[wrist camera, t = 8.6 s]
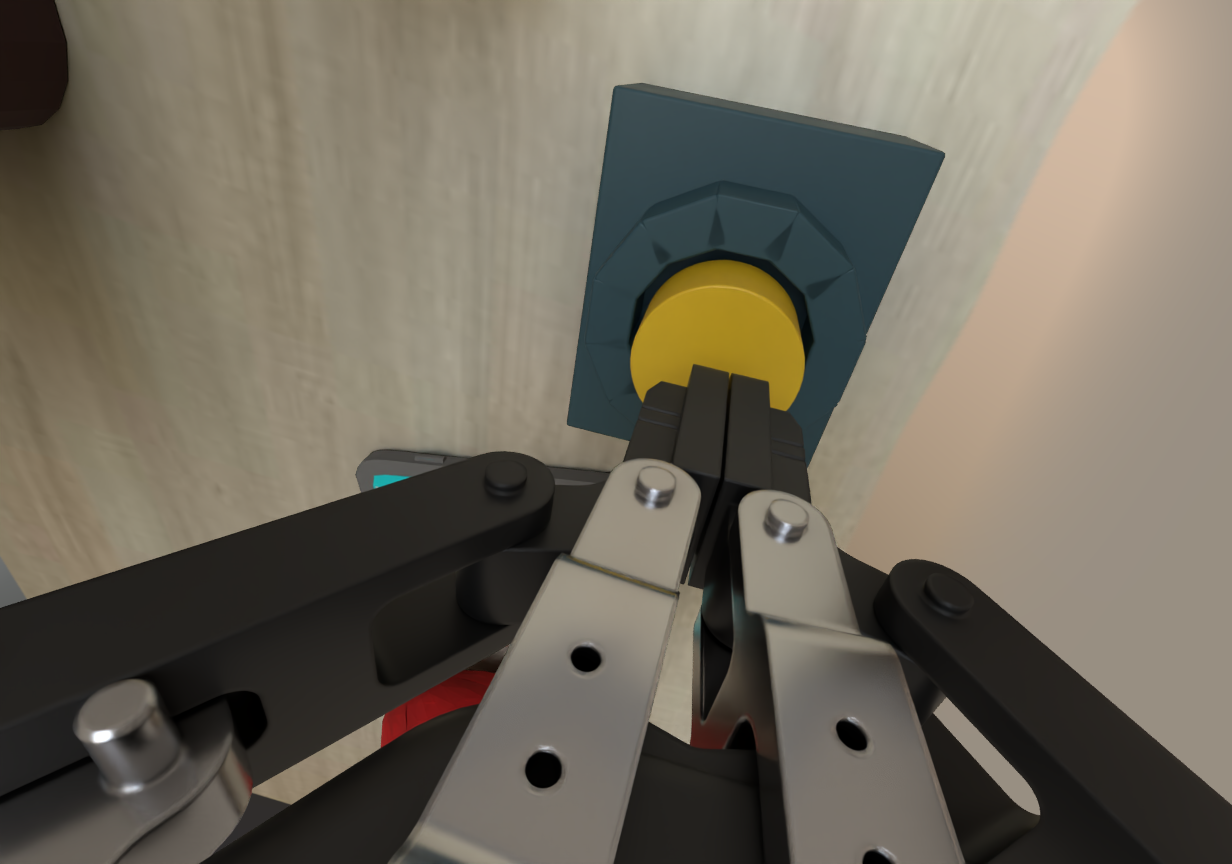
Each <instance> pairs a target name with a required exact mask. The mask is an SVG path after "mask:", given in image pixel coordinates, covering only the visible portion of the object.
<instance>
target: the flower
mask: <svg viewBox="0 0 1232 864" xmlns="http://www.w3.org/2000/svg"><path fill="white" fill-rule="evenodd" d="M495 674H496V673H492V672H487V671H474V670H463V671H461V672H459V673H458V674H456V675H454V676H452V677H450V678H449V679H447V680H445V681H443V682H441V683H440V684H438V685H436V686H434V687H433V688H431V689H429V690H427V691H425V692H424V693H422V694H420V695H418V696H416V697H415V698H413V699H411V700H409V701H408V702H406V703H404V704H402V705H400V706H399V707H397V708H395V709H393V710H391V711H390V712H388V713H386V714H385V716H384V718H383V721H382V737H381V748H382V747H383V746H385V745H386V744H388V743H390V742H391V741H393V740H394V739H396V738H397V737H399V736H401V735H402V734H404V733H405V732H407V731H409V730H411V729H412V728H414V727H416V726H417V725H419V724H422V723H424V722H426V721H428V720H430V719H432V718H434V717H436V716H438V715H441V714H444V713H447V712H450V711H453V710H456V709H459V708H462V707H467V706H471V705H476V704H480V702H481V700H482V698H483V696H484V695H485V693H486V691H487V689H488V687H489V685H490V683H491V681H492V679H493V677H494V675H495Z"/></svg>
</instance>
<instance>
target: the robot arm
mask: <svg viewBox="0 0 1232 864" xmlns="http://www.w3.org/2000/svg"><path fill="white" fill-rule="evenodd" d="M803 446H804V441H803V434H802V428H801V427H800V426H799V424H798V423H797V422H796V420H795V419H794V418H793V416H792V415H791V414H790V412H788V411H783V410H779V409H775V408H771V407H770V393H769V382H768V381H764V380H760V379H756V378H752V377H748V376H744V375H739V374H735V373H731V375H730V378H729V372H727V371H722V370H718V369H714V368H710V367H706V366H702V365H697V364H693V366H692V370H691V373H690V377H689V381H688V384H687V387H685V386H681V385H677V384H672V383H668V382H664V381H660V382H659V383H658V384H656V385H655V386H653V387H652V388H650V389H649V390H647V392H646V395H645V398H644V401H643V404H642V408H641V410H640V413H639V416H638V420H637V422H636V425H635V428H634V431H633V434H632V437H631V440H630V442H629V445H628V448H627V451H626V454H625V457H624V460H623V462H622V463H621V464H619V465H617V466H616V467H615V468H614V469H613V470H612V472H611V473H610V475H609V478H608V479H607V480H604V481H602V482H599V483H595V484H589V485H555V480H554V476H553V475H552V473H551V471H550V470H549V469H548V468H547V466H545V465H544V464H543V463H542V462H540V461H538V460H537V459H535V458H533V457H530V456H528V455H524V454H521V453H515V452H506V451H503V452H490V453H486V454H482V455H478V456H475V457H472V458H469V459H466V460H463V461H460V462H456V463H453V464H450V465H447V466H444V467H441V468H438V469H434V470H431V471H428V472H425V473H422V474H419V475H416V476H413V477H409V478H406V479H403V480H400V481H397V482H394V483H391V484H387V485H384V486H381V487H378V488H375V489H372V490H369V491H365V492H362V493H359V494H356V495H353V496H350V497H347V498H344V499H340V500H337V501H334V502H331V503H328V504H325V505H322V506H318V507H315V508H312V509H309V510H306V511H303V512H300V513H297V514H293V515H290V516H287V517H284V518H281V519H278V520H275V521H271V522H268V523H265V524H262V525H259V526H256V527H253V528H249V529H246V530H243V531H240V532H237V533H234V534H231V535H228V536H224V537H221V538H218V539H215V540H212V541H209V542H206V543H202V544H199V545H196V546H193V547H190V548H187V549H184V550H180V551H177V552H174V553H171V554H168V555H165V556H162V557H159V558H155V559H152V560H149V561H146V562H143V563H140V564H137V565H133V566H130V567H127V568H124V569H121V570H118V571H115V572H111V573H108V574H105V575H102V576H99V577H96V578H93V579H90V580H86V581H83V582H80V583H77V584H74V585H71V586H68V587H64V588H61V589H58V590H55V591H52V592H49V593H46V594H43V595H39V596H36V597H33V598H30V599H27V600H24V601H21V602H17V603H15V604H11V605H8V606H5V607H2V608H0V864H1232V805H1231V804H1230V803H1229V802H1228V801H1226V800H1225V799H1224V798H1223V797H1222V796H1221V795H1219V794H1218V793H1217V792H1216V791H1215V790H1214V789H1212V788H1211V787H1210V786H1209V785H1208V784H1206V783H1205V782H1204V781H1203V780H1202V779H1201V778H1200V777H1198V776H1197V775H1196V774H1195V773H1194V772H1192V771H1191V770H1190V769H1189V768H1188V767H1187V766H1186V765H1184V764H1183V763H1182V762H1181V761H1180V760H1179V759H1177V758H1176V757H1175V756H1174V755H1173V754H1172V753H1170V752H1169V751H1168V750H1167V749H1166V748H1165V747H1163V746H1162V745H1161V744H1160V743H1159V742H1157V741H1156V740H1155V739H1154V738H1153V737H1152V736H1150V735H1149V734H1148V733H1147V732H1146V731H1145V730H1144V729H1142V728H1141V727H1140V726H1139V725H1138V724H1137V723H1135V722H1134V721H1133V720H1132V719H1131V718H1129V717H1128V716H1127V715H1126V714H1125V713H1124V712H1123V711H1121V710H1120V709H1119V708H1118V707H1117V706H1116V705H1114V704H1113V703H1112V702H1111V701H1110V700H1109V699H1107V698H1106V697H1105V696H1104V695H1103V694H1102V693H1100V692H1099V691H1098V690H1097V689H1096V688H1095V687H1093V686H1092V685H1091V684H1090V683H1089V682H1087V681H1086V680H1085V679H1084V678H1083V677H1082V676H1080V675H1079V674H1078V673H1077V672H1076V671H1075V670H1074V669H1072V668H1071V667H1070V666H1069V665H1068V664H1067V663H1065V662H1064V661H1063V660H1062V659H1061V658H1060V657H1058V656H1057V655H1056V654H1055V653H1054V652H1053V651H1051V650H1050V649H1049V648H1048V647H1047V646H1046V645H1044V644H1043V643H1042V642H1041V641H1040V640H1039V639H1037V638H1036V637H1035V636H1034V635H1033V634H1031V633H1030V632H1029V631H1028V630H1027V629H1026V628H1025V627H1023V626H1022V625H1021V624H1020V623H1019V622H1018V621H1016V620H1015V619H1014V618H1013V617H1012V616H1010V615H1009V614H1008V613H1007V612H1006V611H1005V610H1004V609H1002V608H1001V607H1000V606H999V605H998V604H997V603H995V602H994V601H993V600H992V599H991V598H990V597H988V596H987V595H986V594H985V593H984V592H982V591H981V590H980V589H979V588H978V587H976V585H974V584H973V583H972V582H971V581H969V580H968V579H966V578H965V577H963V576H962V575H960V574H959V573H957V572H955V571H953V570H951V569H949V568H947V567H945V566H943V565H940V564H937V563H934V562H930V561H926V560H919V559H909V560H905V561H901V562H899V563H897V564H896V565H895V566H894V567H893V569H892V570H891V572H890V574H889V575H888V574H886V573H883V572H881V571H880V570H878V569H876V568H873V567H871V566H869V565H867V564H865V563H863V562H861V561H859V560H857V559H855V558H853V557H852V556H850V555H848V554H847V553H845V552H844V551H842V550H841V549H839V548H838V547H837V545H836V541H835V538H834V534H833V531H832V528H831V525H830V524H829V522H828V520H827V519H826V518H825V517H824V515H823V514H822V513H821V512H820V511H819V510H818V509H817V508H815V507H814V506H813V505H812V504H811V496H810V488H809V480H808V473H807V465H806V462H805V459H806V457H805V449H804V448H803ZM690 565H691V566H690ZM689 568H690V574H689V581H688V585H689V586H693V587H696V588H700V589H703V599H702V605H701V608H700V610H699V613H698V616H697V618H696V621H695V624H694V630H693V679H692V728H691V741H690V745H689V744H687V743H685V742H683V741H681V740H680V739H678V738H676V737H674V736H673V735H671V734H669V733H667V732H666V731H664V730H662V729H660V728H659V727H657V726H655V725H654V724H652V723H650V722H649V718H650V714H651V709H652V705H653V701H654V697H655V693H656V689H657V685H658V681H659V677H660V673H661V669H662V665H663V661H664V657H665V653H666V649H667V645H668V641H669V637H670V633H671V629H672V625H673V620H674V616H675V612H676V608H677V604H678V600H679V594H680V592H679V591H678V589H679V585H680V583H681V584H684V583H685V580H686V577H687V574H688V571H689ZM509 644H511V645H510V647H509V649H508V651H507V653H506V655H505V656H504V658H503V660H502V662H501V664H500V666H499V668H498V670H497V672H496V674H495V675H494V677H493V679H492V681H491V683H490V685H489V687H488V689H487V691H486V693H485V695H484V696H483V698H482V700H481V702H480V704H476V705H471V706H467V707H462V708H459V709H456V710H453V711H450V712H447V713H444V714H441V715H438V716H436V717H434V718H432V719H430V720H428V721H426V722H424V723H422V724H419V725H417V726H416V727H414V728H412V729H411V730H409V731H407V732H405V733H404V734H402V735H401V736H399V737H397V738H396V739H394V740H393V741H391V742H390V743H388V744H386V745H385V746H383V747H382V748H380V749H378V750H377V751H375V752H374V753H372V754H371V755H369V756H367V757H366V758H364V759H363V760H361V761H360V762H358V763H356V764H355V765H353V766H352V767H350V768H349V769H347V770H345V771H344V772H342V773H341V774H339V775H338V776H336V777H334V778H333V779H331V780H330V781H328V782H327V783H325V784H323V785H322V786H320V787H319V788H317V789H316V790H314V791H312V792H311V793H309V794H308V795H306V796H304V797H303V798H301V799H300V800H298V801H297V802H295V803H293V804H292V805H290V806H289V807H287V808H286V809H284V810H283V811H281V812H279V813H278V814H276V815H275V816H273V817H271V818H270V819H268V820H267V821H265V822H264V823H262V824H261V825H259V826H258V827H256V828H254V829H253V830H251V831H250V832H248V833H247V834H245V835H243V836H242V837H240V838H239V839H237V840H235V841H234V842H232V843H230V844H229V845H227V846H226V847H224V848H223V849H221V850H220V851H218V852H216V853H215V854H213V855H212V853H213V852H214V851H215V850H216V849H217V848H218V847H219V846H220V845H221V844H222V843H223V842H224V840H226V838H227V837H228V836H229V835H230V834H231V833H232V831H233V830H234V828H235V827H236V825H237V824H238V823H239V821H240V819H241V817H242V815H243V813H244V811H245V810H246V808H247V805H248V802H249V799H250V797H251V792H252V788H254V787H256V786H257V785H259V784H261V783H263V782H265V781H266V780H268V779H270V778H272V777H274V776H275V775H277V774H279V773H281V772H282V771H284V770H286V769H288V768H290V767H291V766H293V765H295V764H297V763H299V762H300V761H302V760H304V759H306V758H308V757H309V756H311V755H313V754H315V753H316V752H318V751H320V750H322V749H324V748H325V747H327V746H329V745H331V744H333V743H334V742H336V741H338V740H340V739H341V738H343V737H345V736H347V735H349V734H350V733H352V732H354V731H356V730H358V729H359V728H361V727H363V726H365V725H366V724H368V723H370V722H372V721H374V720H375V719H377V718H379V717H381V716H383V715H384V714H386V713H388V712H390V711H391V710H393V709H395V708H397V707H399V706H400V705H402V704H404V703H406V702H408V701H409V700H411V699H413V698H415V697H416V696H418V695H420V694H422V693H424V692H425V691H427V690H429V689H431V688H433V687H434V686H436V685H438V684H440V683H441V682H443V681H445V680H447V679H449V678H450V677H452V676H454V675H456V674H458V673H459V672H461V671H463V670H465V669H466V668H468V667H470V666H472V665H474V664H475V663H477V662H479V661H481V660H483V659H484V658H486V657H488V656H490V655H491V654H493V653H495V652H497V651H499V650H500V649H502V648H504V647H506V646H508V645H509ZM946 697H947V698H948V699H949V700H950V701H951V702H952V703H953V704H954V705H955V706H956V707H957V708H958V709H959V710H960V711H961V712H962V713H963V714H964V716H965V717H966V718H967V719H968V720H969V721H970V722H971V723H972V724H973V725H974V726H975V727H976V728H977V729H978V730H979V731H980V733H982V735H983V736H984V737H985V738H986V739H987V740H988V741H989V742H990V743H991V744H992V745H993V746H994V747H995V748H996V749H997V750H998V752H999V753H1000V754H1001V755H1002V756H1003V757H1004V758H1005V759H1006V760H1007V761H1008V762H1009V763H1010V764H1011V765H1012V766H1013V767H1014V768H1015V769H1016V771H1017V772H1018V773H1019V774H1020V775H1021V776H1022V777H1023V778H1024V779H1025V780H1026V782H1027V783H1028V784H1029V786H1030V787H1031V788H1032V790H1033V792H1034V794H1035V795H1036V798H1037V800H1038V803H1039V807H1040V815H1035V814H1032V813H1030V812H1028V811H1026V810H1024V809H1023V808H1021V807H1020V806H1018V805H1017V804H1016V803H1015V802H1014V801H1013V800H1012V799H1011V798H1010V797H1009V796H1008V795H1007V794H1006V793H1005V792H1004V791H1003V790H1002V788H1001V787H1000V786H999V785H998V784H997V783H996V782H995V781H994V780H993V779H992V777H991V776H989V774H988V773H987V772H986V771H985V770H984V769H983V768H982V767H981V765H979V763H978V762H977V761H976V760H975V759H974V758H973V757H972V755H971V754H970V753H969V752H968V751H967V750H966V749H965V748H964V747H963V746H962V744H961V743H960V742H959V741H958V740H957V739H956V738H955V737H954V736H953V735H952V733H951V732H950V731H949V730H948V729H947V728H946V727H945V726H944V725H943V724H942V722H941V721H940V720H939V719H938V718H937V717H936V716H935V715H934V714H933V712H934V711H935V710H936V709H937V707H938V706H939V705H940V704H941V703H942V702H943V700H944V699H945V698H946ZM211 855H212V856H211Z"/></svg>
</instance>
